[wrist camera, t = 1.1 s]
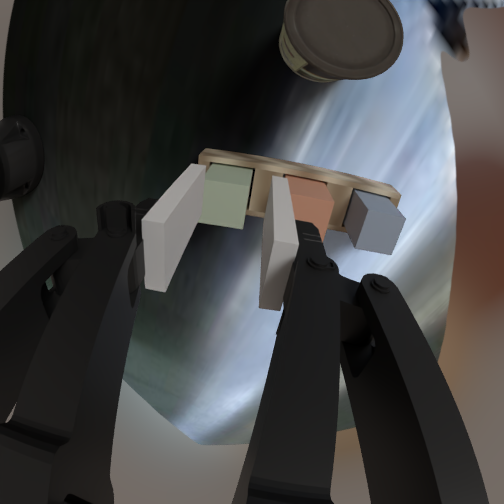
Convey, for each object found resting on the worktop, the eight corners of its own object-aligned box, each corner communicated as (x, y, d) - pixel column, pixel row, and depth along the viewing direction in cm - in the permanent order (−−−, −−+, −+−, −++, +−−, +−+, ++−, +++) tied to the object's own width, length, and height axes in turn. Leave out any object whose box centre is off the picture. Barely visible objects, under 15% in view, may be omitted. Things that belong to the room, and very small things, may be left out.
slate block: (342, 221, 39) (354, 248, 33) (352, 187, 36) (368, 209, 30) (374, 228, 39) (391, 255, 33) (385, 196, 36) (405, 218, 30)
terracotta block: (277, 209, 38) (279, 235, 32) (285, 173, 36) (288, 193, 30) (314, 216, 38) (322, 242, 32) (323, 181, 36) (334, 202, 30)
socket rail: (200, 195, 41) (194, 206, 38) (205, 148, 37) (199, 154, 34) (376, 227, 42) (384, 240, 38) (390, 184, 38) (401, 194, 35)
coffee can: (374, 50, 28) (424, 37, 16) (322, 97, 33) (351, 104, 21) (315, -3, 25) (338, -45, 13) (261, 45, 30) (256, 21, 18)
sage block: (209, 198, 38) (197, 222, 32) (213, 162, 35) (201, 179, 29) (247, 204, 38) (242, 229, 32) (253, 168, 36) (249, 186, 30)
